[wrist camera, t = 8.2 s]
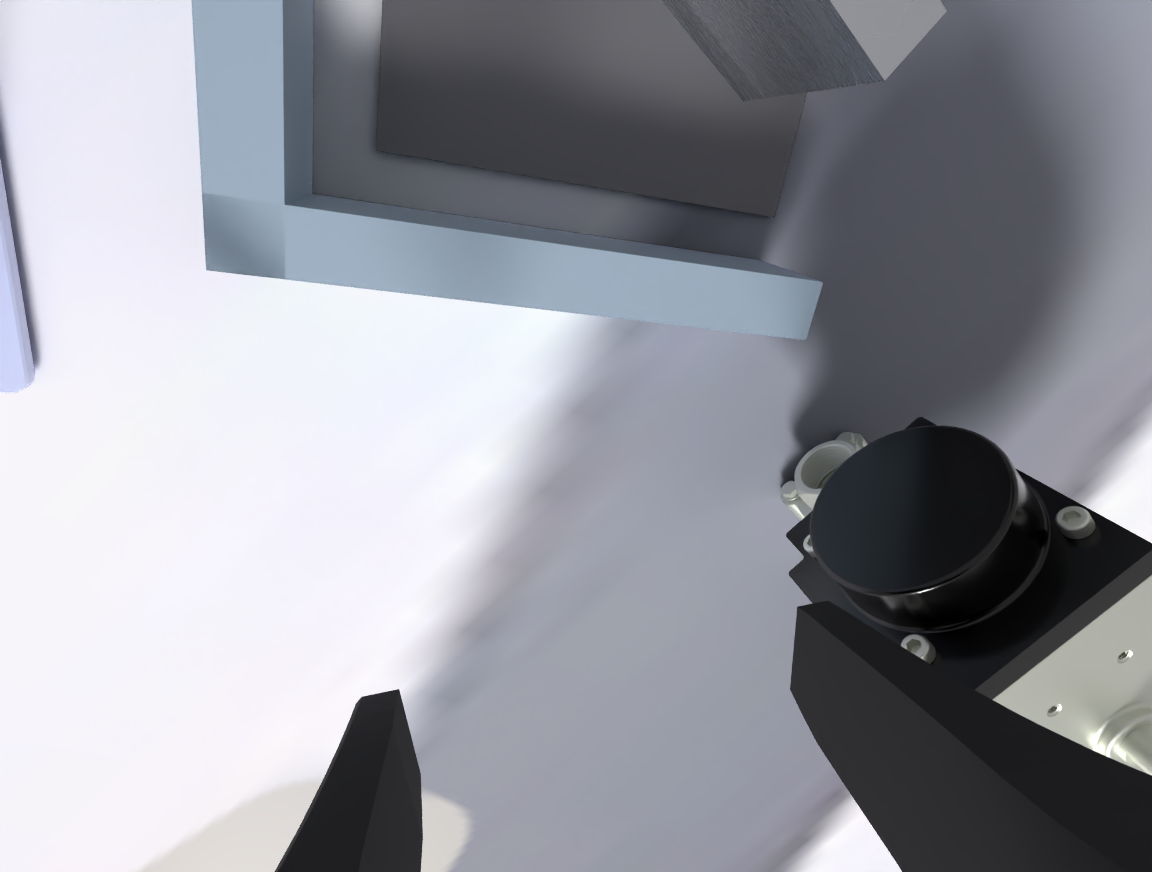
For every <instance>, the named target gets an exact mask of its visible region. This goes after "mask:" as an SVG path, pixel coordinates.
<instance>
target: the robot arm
mask: <svg viewBox="0 0 1152 872" xmlns="http://www.w3.org/2000/svg"><path fill="white" fill-rule="evenodd" d="M34 376H35V371H34V365H33V358H32V352H31V346H30V340H29V334H28V327H27V321H26V315H25V309H24V303H23V296H22V290H21V284H20V278H19V272H18V265H17V259H16V253H15V247H14V241H13V234H12V228H11V222H10V216H9V210H8V203H7V197H6V191H5V185H4V179H3V172H2V166H1V160H0V393H5V394H10V393H17V392H19V391H21V390H23V389H25V388H27V387H28V386H30V385H31V383H32V382H33V381H34ZM790 690H791V692H792V694H793V696H794V698H795V700H796V702H797V704H798V706H799V709H800V711H801V713H802V715H803V717H804V719H805V721H806V723H807V724H808V726H809V728H810V730H811V732H812V734H813V736H814V738H815V740H816V742H817V743H818V745H819V746H820V748H821V749H822V751H823V753H824V754H825V756H826V757H827V759H828V760H829V762H830V763H831V765H832V766H833V768H834V769H835V771H836V772H837V774H838V775H839V777H840V779H841V780H842V782H843V783H844V785H845V786H846V788H847V789H848V791H849V792H850V794H851V795H852V797H853V798H854V800H855V801H856V803H857V804H858V806H859V807H860V809H861V810H862V812H863V813H864V814H865V816H866V817H867V819H868V820H869V822H870V823H871V825H872V826H873V828H874V829H875V831H876V832H877V834H878V835H879V837H880V838H881V840H882V841H883V843H884V844H885V846H886V847H887V849H888V850H889V852H890V853H891V855H892V856H893V858H894V859H895V861H896V862H897V864H898V866H899V867H900V869H901V870H902V872H1152V775H1149V774H1147V773H1145V772H1142V771H1140V770H1137V769H1135V768H1132V767H1130V766H1128V765H1125V764H1123V763H1120V762H1118V761H1116V760H1114V759H1111V758H1109V757H1107V756H1105V755H1102V754H1100V753H1098V752H1096V751H1093V750H1091V749H1089V748H1087V747H1085V746H1083V745H1081V744H1079V743H1076V742H1074V741H1072V740H1070V739H1068V738H1066V737H1064V736H1062V735H1060V734H1058V733H1056V732H1053V731H1051V730H1049V729H1047V728H1045V727H1043V726H1041V725H1039V724H1037V723H1035V722H1033V721H1031V720H1029V719H1027V718H1025V717H1023V716H1021V715H1019V714H1018V713H1016V712H1014V711H1012V710H1010V709H1008V708H1006V707H1005V706H1003V705H1001V704H999V703H997V702H995V701H994V700H992V699H990V698H988V697H986V696H985V695H983V694H981V693H979V692H977V691H975V690H974V689H972V688H970V687H968V686H967V685H965V684H963V683H961V682H960V681H958V680H956V679H955V678H953V677H951V676H949V675H948V674H946V673H944V672H943V671H941V670H939V669H938V668H936V667H934V666H933V665H931V664H929V663H928V662H926V661H924V660H923V659H921V658H920V657H918V656H916V655H915V654H913V653H911V652H910V651H908V650H907V649H905V648H903V647H902V646H900V645H899V644H897V643H895V642H894V641H892V640H891V639H889V638H888V637H886V636H884V635H883V634H881V633H880V632H878V631H876V630H875V629H873V628H872V627H870V626H869V625H867V624H865V623H864V622H862V621H861V620H859V619H857V618H856V617H854V616H853V615H851V614H850V613H848V612H846V611H845V610H843V609H841V608H840V607H838V606H836V605H835V604H833V603H831V602H830V601H823V602H818V603H813V604H808V605H804V606H799V607H797V618H796V629H795V640H794V652H793V663H792V675H791V686H790ZM422 840H423V833H422V799H421V774H420V770H419V766H418V762H417V758H416V754H415V750H414V746H413V742H412V738H411V734H410V730H409V727H408V723H407V719H406V715H405V711H404V707H403V703H402V699H401V695H400V691H399V689H398V690H393V691H388V692H383V693H379V694H374V695H369V696H364V697H361V698H360V700H359V701H358V702H357V703H356V705H355V708H354V710H353V713H352V716H351V718H350V721H349V723H348V725H347V728H346V730H345V733H344V735H343V737H342V740H341V742H340V744H339V746H338V749H337V751H336V753H335V755H334V757H333V760H332V762H331V764H330V766H329V768H328V770H327V773H326V775H325V777H324V779H323V781H322V783H321V785H320V787H319V789H318V791H317V793H316V795H315V797H314V799H313V801H312V803H311V805H310V807H309V809H308V811H307V813H306V815H305V817H304V819H303V821H302V823H301V825H300V827H299V829H298V831H297V833H296V835H295V836H294V838H293V840H292V842H291V843H290V845H289V847H288V849H287V851H286V852H285V855H284V856H283V858H282V860H281V861H280V863H279V865H278V867H277V869H276V871H275V872H420V871H421V857H422Z"/></svg>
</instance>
